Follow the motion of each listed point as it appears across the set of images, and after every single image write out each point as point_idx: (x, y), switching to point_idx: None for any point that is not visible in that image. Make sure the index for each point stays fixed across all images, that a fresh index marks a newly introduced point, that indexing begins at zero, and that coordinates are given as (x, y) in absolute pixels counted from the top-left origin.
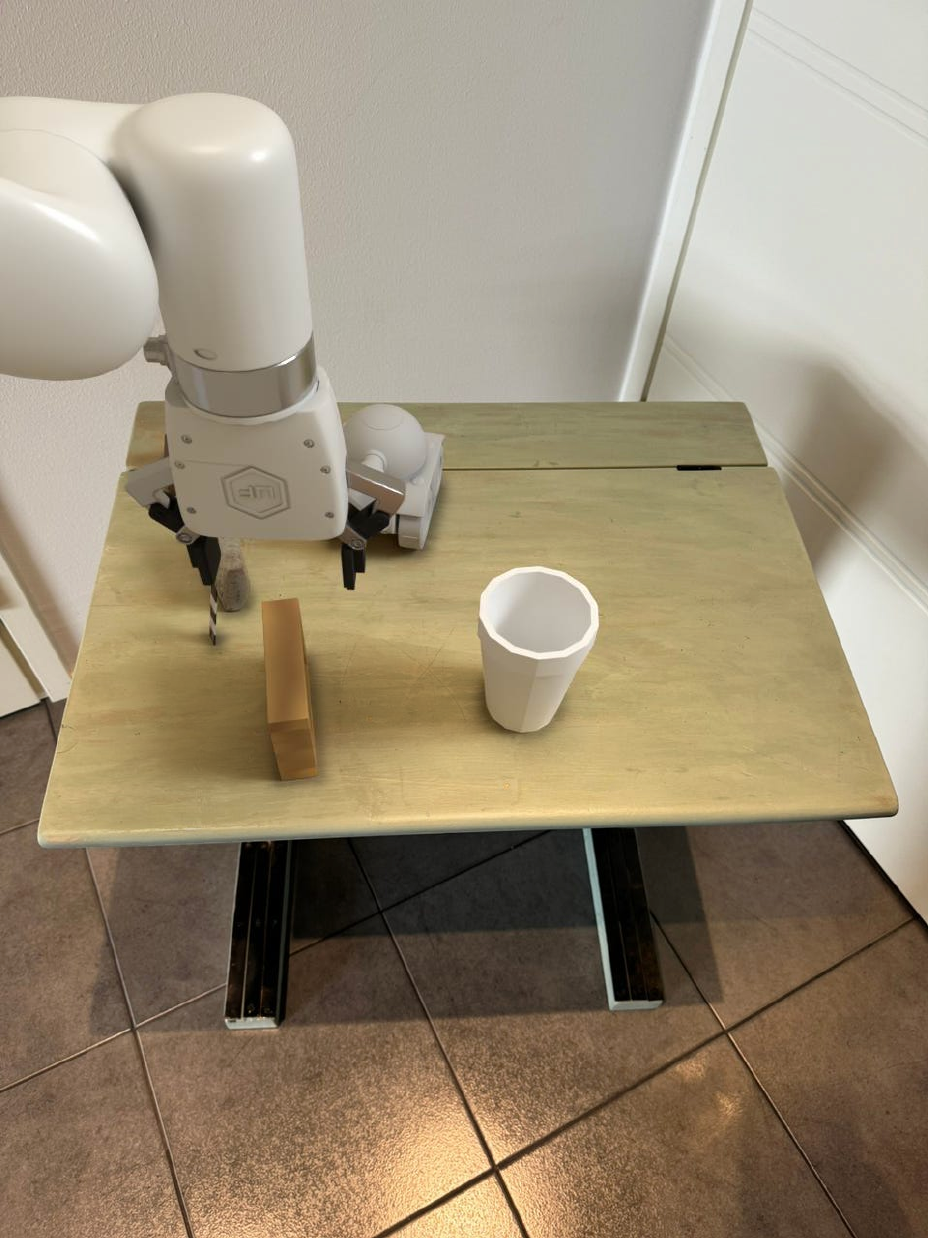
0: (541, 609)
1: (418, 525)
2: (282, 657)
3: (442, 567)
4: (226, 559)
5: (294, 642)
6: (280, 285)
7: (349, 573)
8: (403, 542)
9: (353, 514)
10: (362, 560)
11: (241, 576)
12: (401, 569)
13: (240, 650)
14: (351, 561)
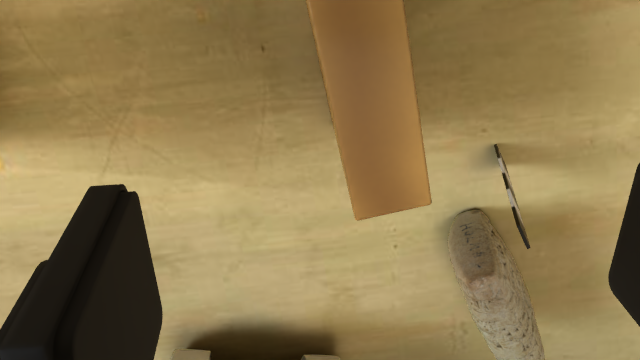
0: None
1: None
2: (369, 62)
3: None
4: (499, 294)
5: (347, 106)
6: None
7: (71, 242)
8: (200, 358)
9: None
10: (15, 312)
11: (468, 266)
12: (205, 311)
13: (451, 138)
14: (26, 299)
